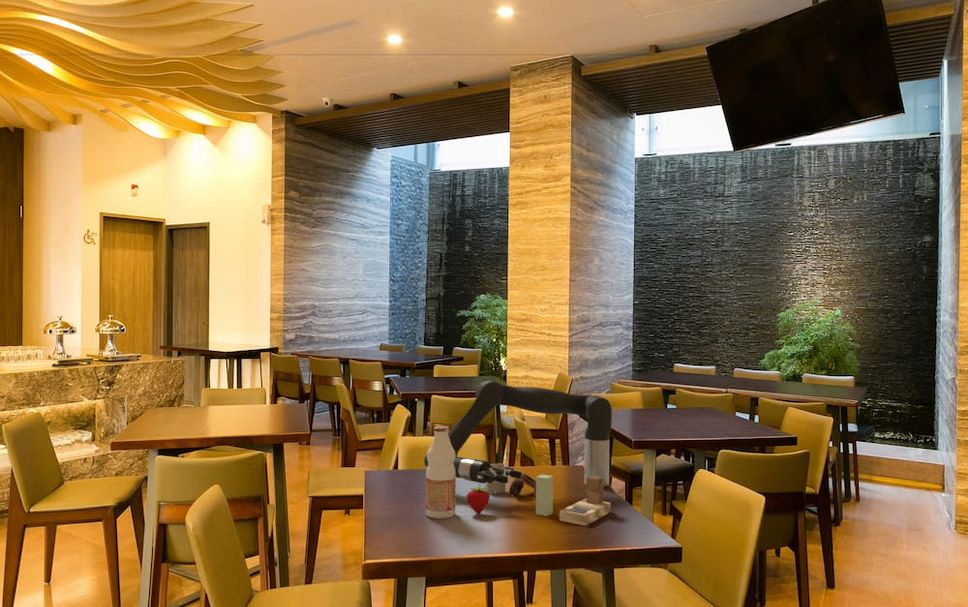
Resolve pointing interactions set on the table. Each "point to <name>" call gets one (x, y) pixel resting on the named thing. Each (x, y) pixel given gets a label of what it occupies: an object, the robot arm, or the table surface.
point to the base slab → (588, 505)
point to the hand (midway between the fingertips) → (514, 477)
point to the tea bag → (495, 483)
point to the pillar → (544, 495)
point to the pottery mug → (522, 484)
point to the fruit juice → (440, 476)
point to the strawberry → (478, 499)
